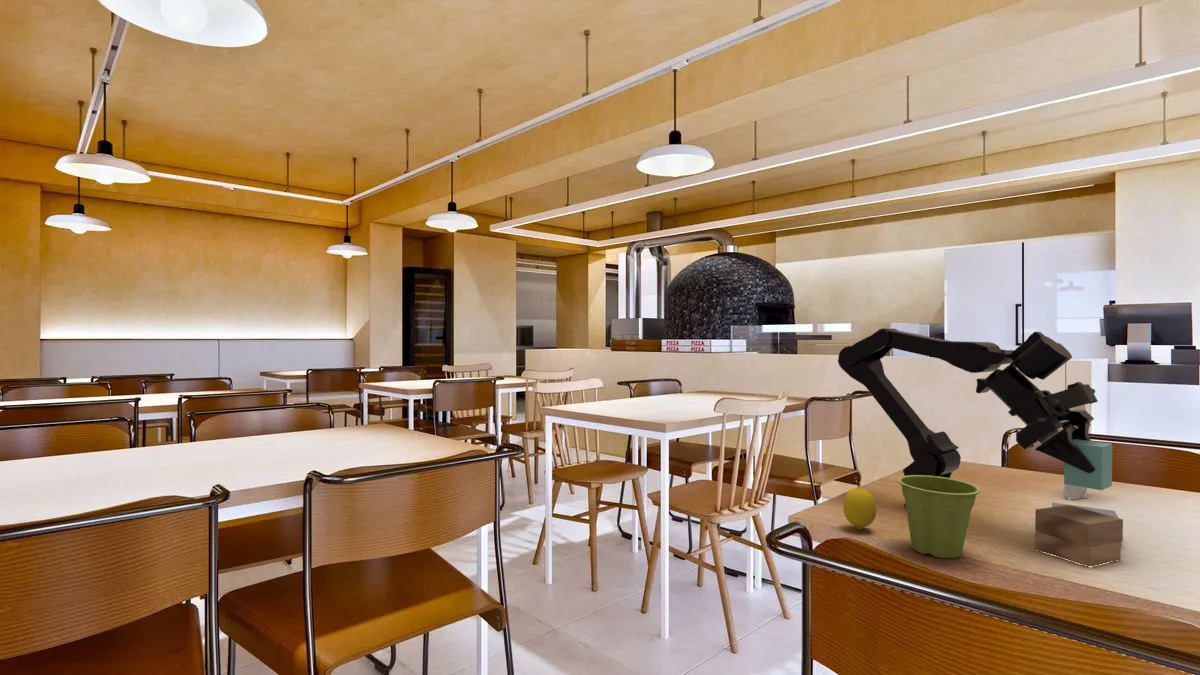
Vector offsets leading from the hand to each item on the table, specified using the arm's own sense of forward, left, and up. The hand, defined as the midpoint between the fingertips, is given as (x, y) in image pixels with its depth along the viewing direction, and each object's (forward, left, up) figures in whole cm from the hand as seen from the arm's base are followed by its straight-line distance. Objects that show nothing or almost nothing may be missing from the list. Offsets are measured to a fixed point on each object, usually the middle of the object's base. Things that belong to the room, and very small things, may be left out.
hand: (1098, 469), depth 98 cm
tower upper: (-5, -1, -10) cm, 11 cm away
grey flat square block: (+6, +7, -14) cm, 16 cm away
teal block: (-1, +1, -3) cm, 3 cm away
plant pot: (-26, +5, -14) cm, 30 cm away
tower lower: (-5, -1, -14) cm, 15 cm away
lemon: (-32, +17, -14) cm, 39 cm away
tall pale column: (+29, +28, -14) cm, 43 cm away
